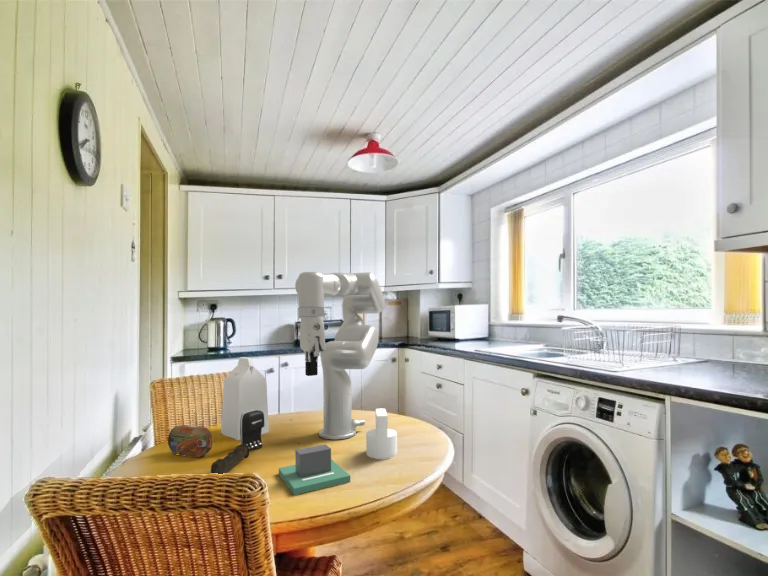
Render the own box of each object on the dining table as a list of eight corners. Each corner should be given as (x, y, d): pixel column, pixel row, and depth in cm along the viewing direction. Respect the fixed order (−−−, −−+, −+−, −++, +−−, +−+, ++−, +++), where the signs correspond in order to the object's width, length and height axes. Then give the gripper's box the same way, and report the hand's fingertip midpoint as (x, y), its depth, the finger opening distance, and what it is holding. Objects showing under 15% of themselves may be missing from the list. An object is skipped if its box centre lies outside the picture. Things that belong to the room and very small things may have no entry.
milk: (269, 432, 140) (269, 357, 141) (238, 440, 131) (238, 360, 132) (250, 425, 147) (251, 355, 149) (220, 433, 139) (221, 358, 140)
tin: (166, 453, 119) (167, 425, 120) (175, 450, 122) (176, 422, 123) (206, 459, 114) (206, 429, 115) (214, 455, 117) (214, 426, 118)
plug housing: (325, 465, 104) (325, 444, 105) (331, 470, 101) (330, 448, 101) (295, 471, 100) (295, 449, 101) (300, 477, 97) (300, 454, 97)
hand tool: (236, 457, 116) (236, 441, 116) (249, 457, 116) (249, 441, 116) (200, 485, 97) (200, 466, 98) (215, 486, 97) (215, 466, 97)
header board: (329, 463, 110) (329, 444, 110) (350, 481, 98) (350, 460, 98) (278, 473, 103) (278, 454, 103) (294, 495, 91) (294, 472, 91)
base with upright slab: (398, 458, 113) (398, 415, 113) (366, 460, 112) (366, 416, 113) (395, 447, 122) (394, 407, 122) (366, 449, 121) (365, 408, 122)
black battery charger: (247, 453, 118) (247, 414, 119) (239, 451, 120) (239, 413, 121) (266, 447, 124) (266, 409, 125) (258, 444, 126) (258, 408, 127)
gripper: (332, 313, 115) (332, 377, 113) (314, 313, 128) (315, 371, 126) (307, 313, 111) (307, 380, 110) (291, 313, 124) (291, 373, 123)
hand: (311, 375), depth 118 cm, fingers closed
